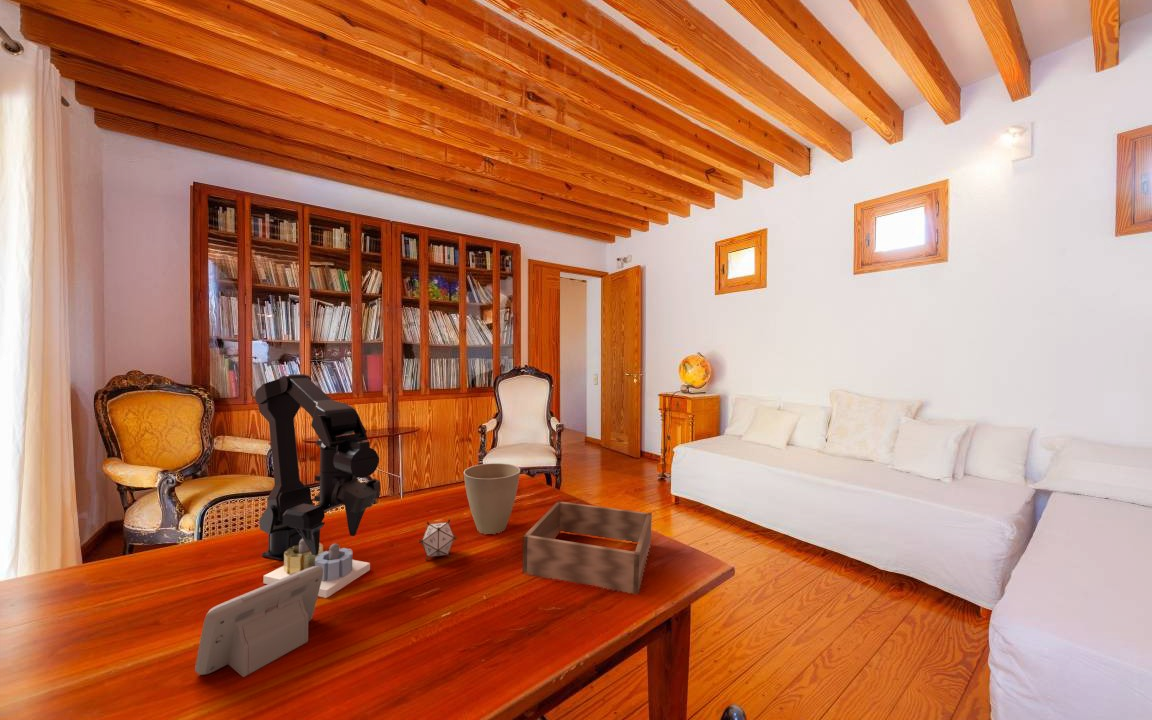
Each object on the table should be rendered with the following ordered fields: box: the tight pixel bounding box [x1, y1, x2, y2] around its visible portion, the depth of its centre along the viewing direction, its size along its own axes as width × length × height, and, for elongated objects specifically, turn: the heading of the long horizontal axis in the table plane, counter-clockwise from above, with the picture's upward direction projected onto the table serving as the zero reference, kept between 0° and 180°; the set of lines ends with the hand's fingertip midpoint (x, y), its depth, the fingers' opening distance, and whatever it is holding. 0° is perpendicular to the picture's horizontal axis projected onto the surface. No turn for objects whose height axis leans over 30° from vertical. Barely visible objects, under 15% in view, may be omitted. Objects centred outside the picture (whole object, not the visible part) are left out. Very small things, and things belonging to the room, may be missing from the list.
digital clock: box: [194, 566, 323, 678], centre depth 65 cm, size 16×9×11 cm, turn 139°
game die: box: [418, 518, 458, 561], centre depth 97 cm, size 9×8×10 cm
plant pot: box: [463, 462, 521, 535], centre depth 112 cm, size 15×15×16 cm
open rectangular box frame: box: [522, 500, 653, 595], centre depth 98 cm, size 25×23×10 cm
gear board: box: [262, 539, 371, 599], centre depth 87 cm, size 16×11×7 cm
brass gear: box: [283, 542, 324, 574], centre depth 88 cm, size 7×7×4 cm
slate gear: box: [315, 547, 353, 582], centre depth 86 cm, size 7×7×4 cm
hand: (334, 544), depth 86 cm, fingers open, 9 cm apart
